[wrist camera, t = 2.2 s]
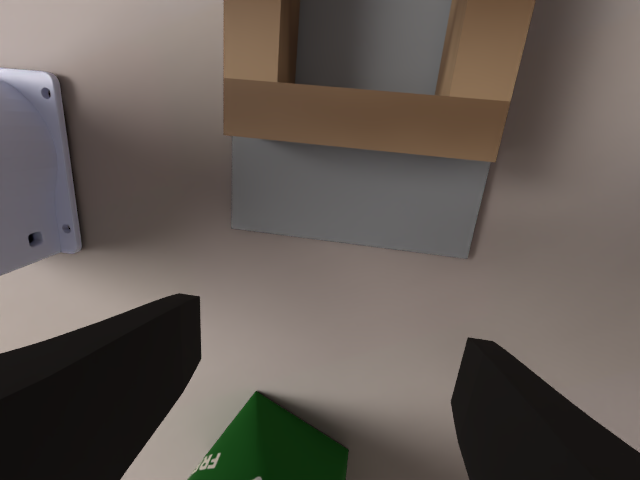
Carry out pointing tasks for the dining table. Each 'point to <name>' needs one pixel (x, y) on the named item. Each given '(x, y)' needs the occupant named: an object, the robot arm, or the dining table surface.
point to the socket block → (372, 105)
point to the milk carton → (272, 448)
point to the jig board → (361, 164)
